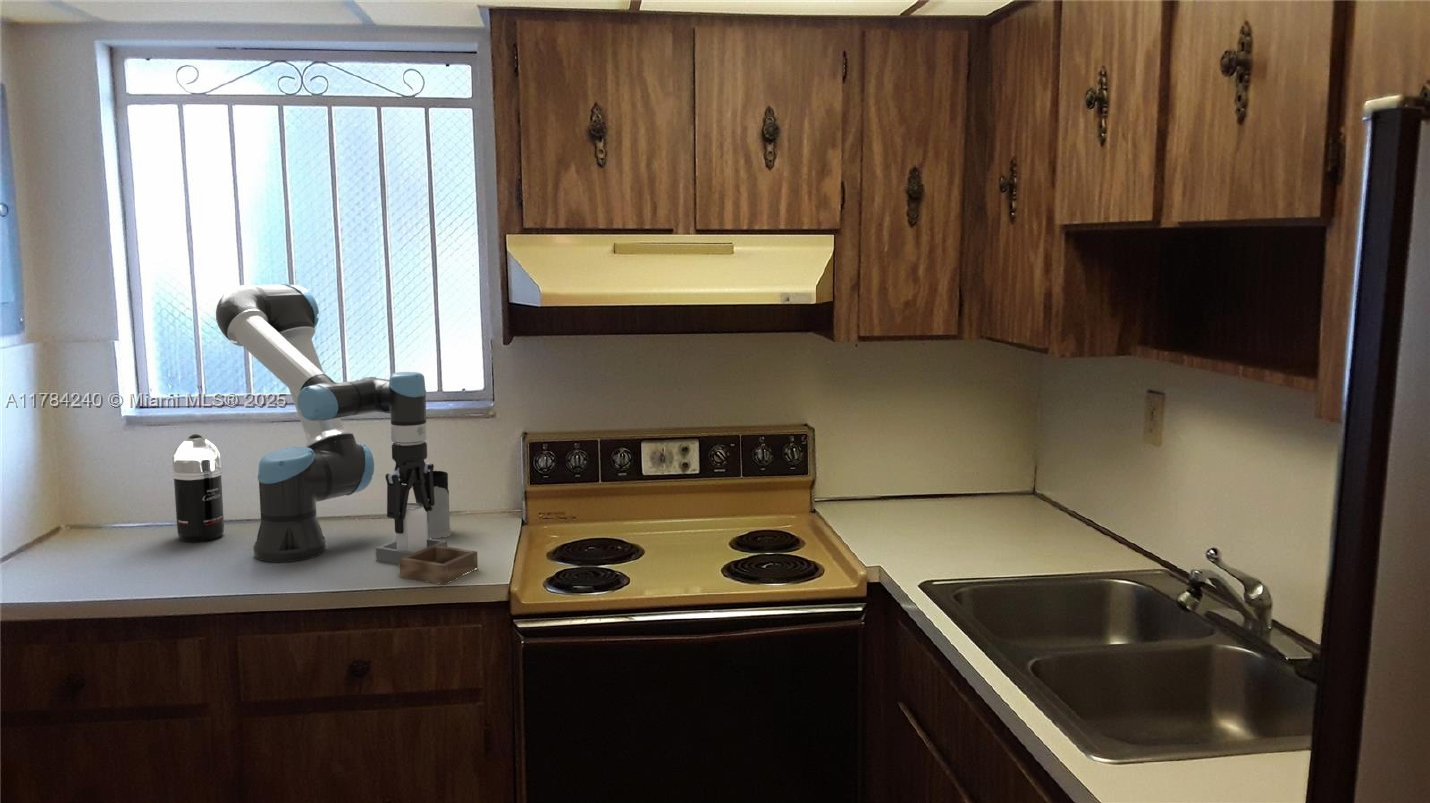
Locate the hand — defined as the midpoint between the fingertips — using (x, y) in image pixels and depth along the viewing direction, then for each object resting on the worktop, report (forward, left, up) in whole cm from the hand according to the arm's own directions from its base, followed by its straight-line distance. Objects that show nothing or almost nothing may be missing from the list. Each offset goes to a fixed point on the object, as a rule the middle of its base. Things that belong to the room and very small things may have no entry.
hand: (412, 542), depth 223 cm
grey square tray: (0, 0, -3) cm, 3 cm away
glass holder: (-10, +19, -4) cm, 22 cm away
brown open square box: (+12, -7, -3) cm, 15 cm away
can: (0, 0, -4) cm, 4 cm away
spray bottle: (-55, -9, -4) cm, 56 cm away
